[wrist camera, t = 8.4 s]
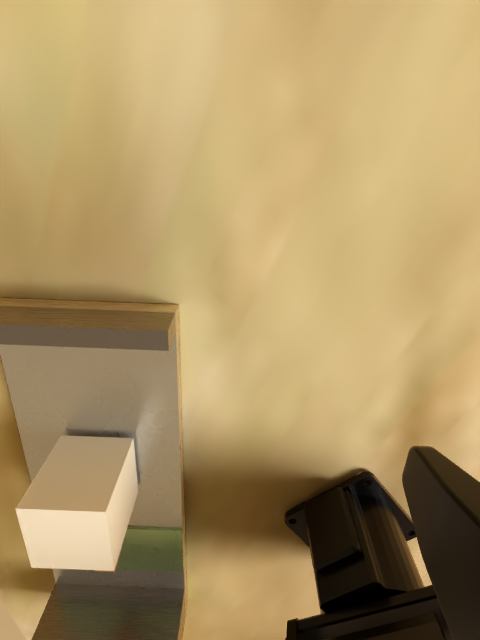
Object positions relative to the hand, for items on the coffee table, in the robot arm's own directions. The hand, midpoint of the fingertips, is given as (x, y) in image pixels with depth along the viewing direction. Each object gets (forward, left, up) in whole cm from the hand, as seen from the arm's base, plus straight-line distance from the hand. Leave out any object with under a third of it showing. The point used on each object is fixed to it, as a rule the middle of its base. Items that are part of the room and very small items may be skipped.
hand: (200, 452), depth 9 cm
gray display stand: (-6, +14, -12) cm, 19 cm away
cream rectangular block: (-6, +14, -11) cm, 19 cm away
